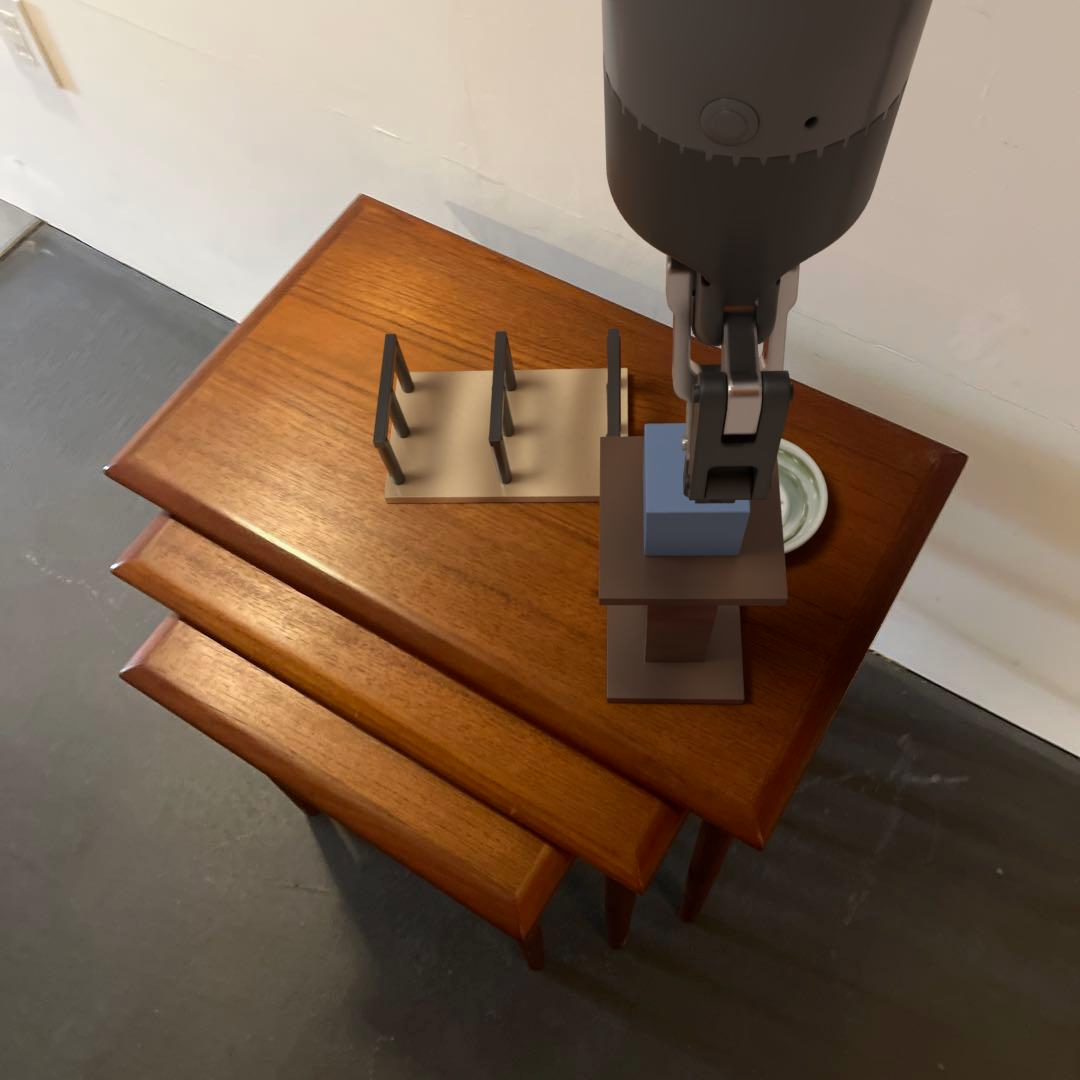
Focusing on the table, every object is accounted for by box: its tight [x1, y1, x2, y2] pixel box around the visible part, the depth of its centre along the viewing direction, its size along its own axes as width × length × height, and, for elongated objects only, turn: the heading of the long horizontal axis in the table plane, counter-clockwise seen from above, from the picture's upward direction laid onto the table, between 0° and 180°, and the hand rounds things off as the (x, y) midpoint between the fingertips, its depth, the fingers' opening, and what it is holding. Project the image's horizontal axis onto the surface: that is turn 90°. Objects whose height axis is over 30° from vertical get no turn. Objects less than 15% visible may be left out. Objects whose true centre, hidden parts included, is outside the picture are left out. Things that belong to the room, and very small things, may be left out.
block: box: [643, 422, 750, 556], centre depth 46 cm, size 5×5×5 cm
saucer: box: [777, 438, 829, 554], centre depth 69 cm, size 10×10×2 cm
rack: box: [372, 328, 629, 504], centre depth 71 cm, size 18×11×7 cm, turn 88°
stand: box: [598, 435, 789, 705], centre depth 58 cm, size 9×9×20 cm
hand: (707, 393), depth 38 cm, fingers open, 8 cm apart
